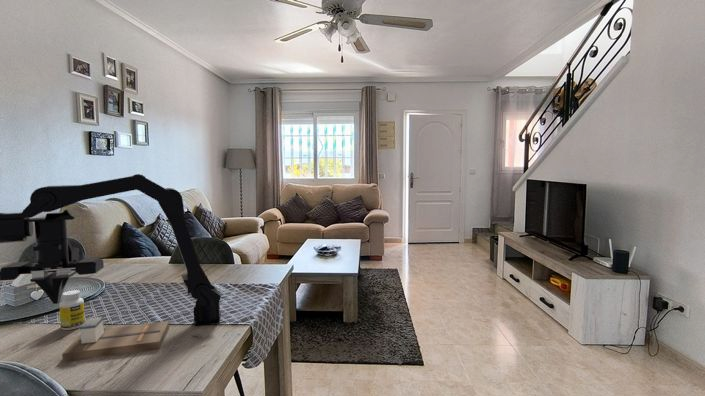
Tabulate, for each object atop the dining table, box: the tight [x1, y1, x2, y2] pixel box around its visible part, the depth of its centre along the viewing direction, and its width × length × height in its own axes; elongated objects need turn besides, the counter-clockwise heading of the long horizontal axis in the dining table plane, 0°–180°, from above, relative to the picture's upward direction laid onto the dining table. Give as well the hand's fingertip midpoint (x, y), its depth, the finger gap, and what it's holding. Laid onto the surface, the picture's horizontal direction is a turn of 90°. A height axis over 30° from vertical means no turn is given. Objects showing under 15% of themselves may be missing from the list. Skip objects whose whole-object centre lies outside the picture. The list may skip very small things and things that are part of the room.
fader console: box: [61, 320, 170, 363], centre depth 91 cm, size 20×12×2 cm, turn 107°
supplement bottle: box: [58, 289, 86, 331], centre depth 100 cm, size 5×5×10 cm
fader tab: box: [79, 316, 104, 344], centre depth 88 cm, size 3×5×4 cm, turn 17°
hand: (56, 303), depth 86 cm, fingers closed
